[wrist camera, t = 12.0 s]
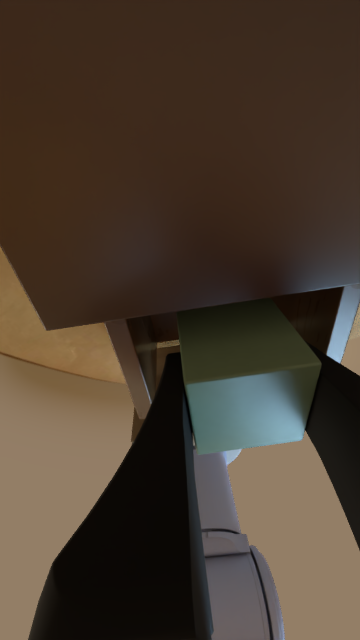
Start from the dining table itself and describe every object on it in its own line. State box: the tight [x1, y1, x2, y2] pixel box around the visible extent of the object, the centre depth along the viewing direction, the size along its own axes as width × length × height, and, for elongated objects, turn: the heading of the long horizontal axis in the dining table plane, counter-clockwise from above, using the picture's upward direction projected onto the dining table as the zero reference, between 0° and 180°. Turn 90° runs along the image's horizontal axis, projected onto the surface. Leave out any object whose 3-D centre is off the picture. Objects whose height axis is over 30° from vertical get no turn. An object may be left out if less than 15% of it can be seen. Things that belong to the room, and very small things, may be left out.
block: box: [176, 298, 321, 455], centre depth 10 cm, size 4×4×4 cm
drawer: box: [104, 284, 360, 450], centre depth 13 cm, size 17×10×7 cm, turn 8°
